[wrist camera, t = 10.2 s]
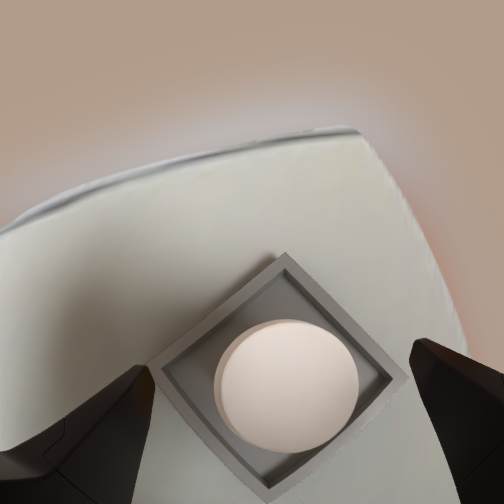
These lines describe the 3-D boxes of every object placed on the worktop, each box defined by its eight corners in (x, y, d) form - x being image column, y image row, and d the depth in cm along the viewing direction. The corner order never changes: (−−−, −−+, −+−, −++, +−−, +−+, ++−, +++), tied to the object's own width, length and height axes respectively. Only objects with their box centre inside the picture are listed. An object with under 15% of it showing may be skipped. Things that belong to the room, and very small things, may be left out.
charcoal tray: (267, 493, 13) (267, 503, 11) (155, 367, 17) (144, 365, 15) (397, 378, 16) (409, 377, 14) (284, 263, 20) (285, 251, 18)
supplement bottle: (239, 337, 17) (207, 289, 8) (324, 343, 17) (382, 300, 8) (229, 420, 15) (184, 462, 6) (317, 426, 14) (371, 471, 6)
